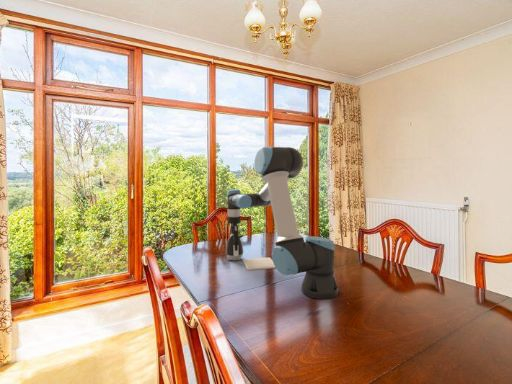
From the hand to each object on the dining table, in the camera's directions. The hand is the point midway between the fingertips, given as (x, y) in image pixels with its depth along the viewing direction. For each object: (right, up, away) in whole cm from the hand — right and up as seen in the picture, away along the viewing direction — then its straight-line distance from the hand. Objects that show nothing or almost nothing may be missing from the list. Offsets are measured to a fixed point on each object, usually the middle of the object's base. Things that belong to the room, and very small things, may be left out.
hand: (234, 252), depth 165 cm
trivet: (+14, -4, -9) cm, 17 cm away
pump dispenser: (0, -4, 0) cm, 4 cm away
